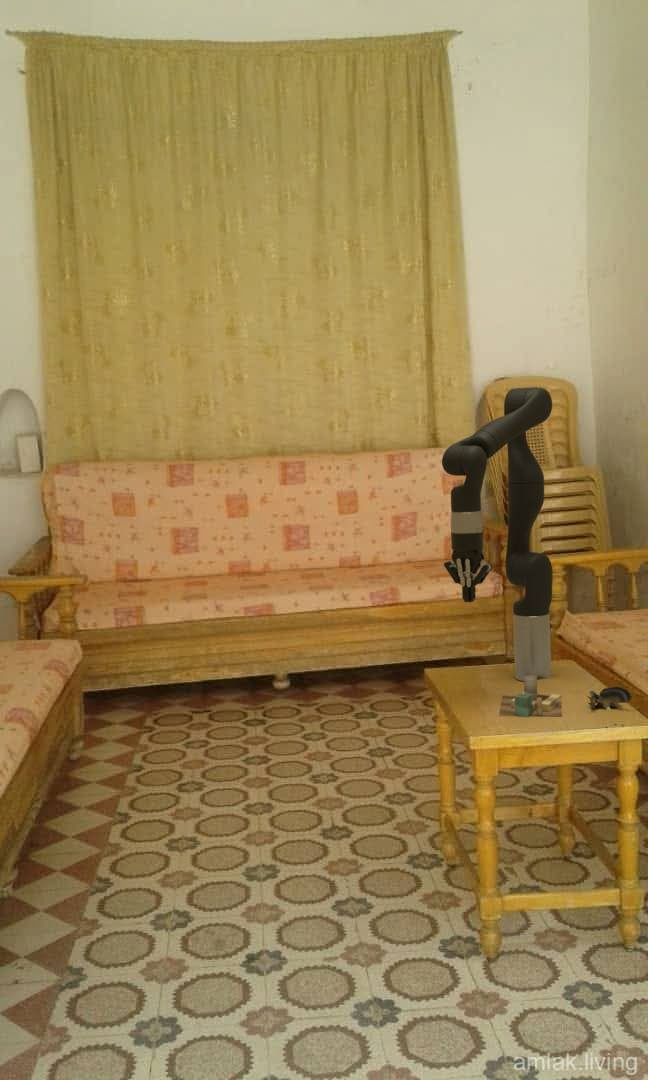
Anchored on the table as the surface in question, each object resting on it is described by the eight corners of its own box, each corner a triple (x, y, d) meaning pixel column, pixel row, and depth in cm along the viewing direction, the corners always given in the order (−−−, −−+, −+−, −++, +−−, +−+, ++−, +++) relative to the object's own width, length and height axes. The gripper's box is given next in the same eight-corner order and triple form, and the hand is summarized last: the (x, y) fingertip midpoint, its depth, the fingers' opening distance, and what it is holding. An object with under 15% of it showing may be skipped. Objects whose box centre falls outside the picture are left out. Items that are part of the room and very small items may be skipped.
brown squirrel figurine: (597, 715, 236) (636, 706, 236) (586, 685, 239) (625, 676, 239) (593, 724, 243) (630, 715, 243) (583, 695, 246) (620, 686, 246)
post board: (502, 700, 256) (501, 667, 255) (561, 700, 253) (560, 667, 252) (499, 721, 240) (498, 686, 239) (562, 721, 237) (561, 686, 236)
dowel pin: (537, 714, 239) (536, 697, 238) (542, 714, 239) (541, 697, 238) (536, 716, 238) (536, 698, 237) (542, 716, 237) (541, 699, 237)
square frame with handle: (525, 698, 253) (524, 680, 252) (561, 702, 248) (561, 683, 247) (502, 713, 241) (502, 695, 240) (540, 718, 236) (539, 699, 236)
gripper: (434, 530, 252) (437, 602, 254) (481, 532, 243) (483, 606, 245) (452, 527, 257) (455, 597, 259) (499, 529, 248) (501, 601, 250)
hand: (469, 601), depth 252 cm, fingers closed
